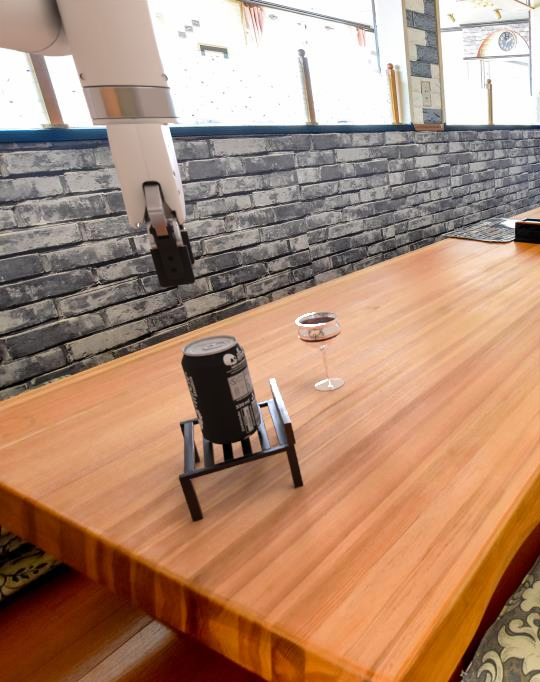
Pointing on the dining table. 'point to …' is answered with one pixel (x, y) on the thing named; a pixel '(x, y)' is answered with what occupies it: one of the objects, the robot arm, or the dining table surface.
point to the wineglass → (321, 340)
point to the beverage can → (221, 389)
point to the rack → (283, 435)
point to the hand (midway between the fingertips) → (179, 274)
